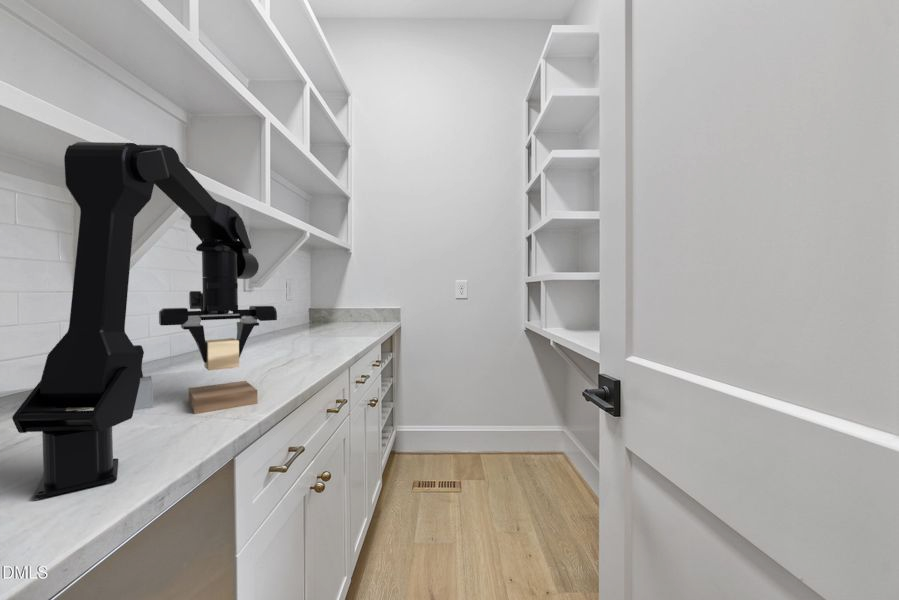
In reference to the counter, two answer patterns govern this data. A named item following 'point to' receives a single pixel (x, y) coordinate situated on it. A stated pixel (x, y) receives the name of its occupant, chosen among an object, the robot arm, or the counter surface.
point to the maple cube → (222, 354)
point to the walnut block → (221, 396)
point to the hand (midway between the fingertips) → (221, 360)
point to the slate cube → (144, 394)
